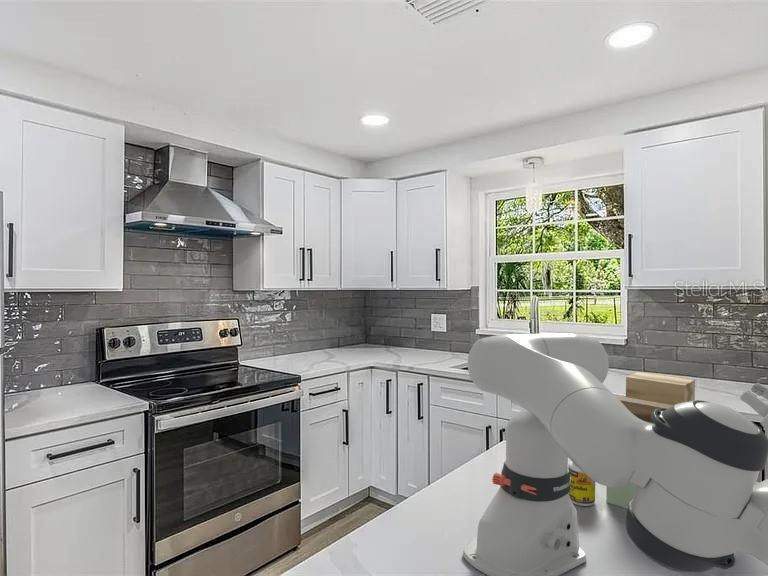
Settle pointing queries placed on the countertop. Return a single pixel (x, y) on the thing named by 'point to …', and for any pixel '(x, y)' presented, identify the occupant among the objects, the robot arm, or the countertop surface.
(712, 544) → the robot arm
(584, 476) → the supplement bottle
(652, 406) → the batten
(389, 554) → the countertop surface
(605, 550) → the countertop surface
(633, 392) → the stand
